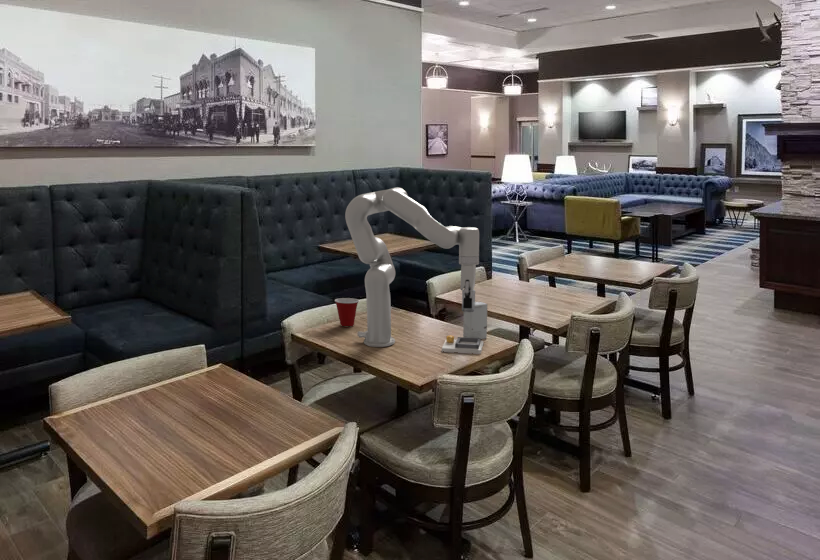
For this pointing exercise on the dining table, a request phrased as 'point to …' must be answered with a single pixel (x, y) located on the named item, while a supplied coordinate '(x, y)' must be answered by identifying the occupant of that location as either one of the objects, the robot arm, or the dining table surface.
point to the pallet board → (464, 345)
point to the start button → (449, 338)
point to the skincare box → (476, 322)
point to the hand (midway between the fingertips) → (468, 305)
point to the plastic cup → (346, 310)
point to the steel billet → (472, 302)
